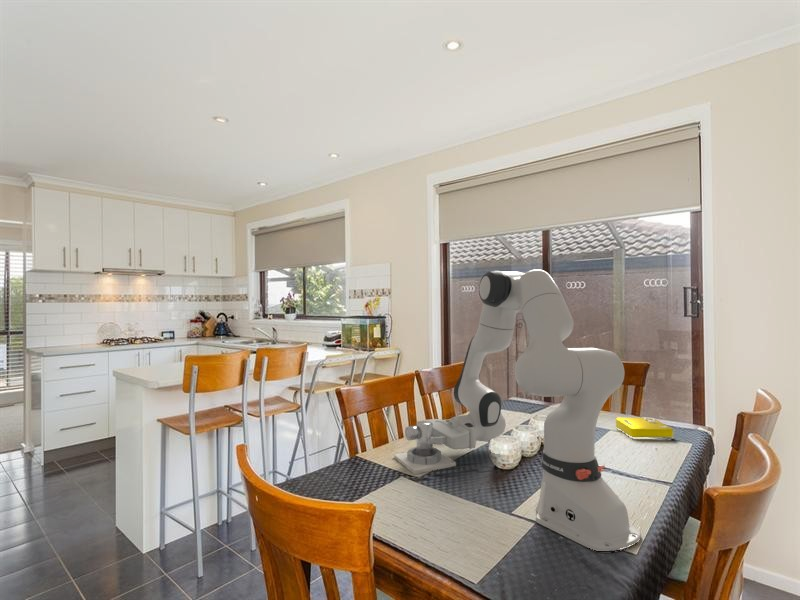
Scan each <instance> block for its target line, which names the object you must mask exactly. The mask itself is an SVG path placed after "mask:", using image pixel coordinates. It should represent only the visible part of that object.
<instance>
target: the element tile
mask: <svg viewBox="0 0 800 600" xmlns="http://www.w3.org/2000/svg"><path fill="white" fill-rule="evenodd" d="M616 427H617V428H619V429H621V430H622V431H624V432H625V433H627V434H628V435H630V436H632V437H672V436H673V437H674V428H672V427H671V426H669V425H667V424H666V423H663V422H661V421H660V420H657V419H656V418H653V417H616V418H615V428H616Z"/></svg>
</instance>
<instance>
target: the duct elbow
mask: <svg viewBox="0 0 800 600" xmlns="http://www.w3.org/2000/svg"><path fill="white" fill-rule="evenodd" d="M404 435H405V438H406V440H407V441H413V440H414V441H415V440H416V447H417V456H422V457H428V456H433V447H434V444H430V443H429V437H433V423H432V422H431V421H423V420H419V421H416V425H410V426H406V427H405V430H404Z"/></svg>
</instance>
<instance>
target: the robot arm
mask: <svg viewBox="0 0 800 600" xmlns="http://www.w3.org/2000/svg"><path fill="white" fill-rule="evenodd" d="M478 294H479V298H480V300H481V302H482V303H483V304H482V307H481V312H480V315H479V316H480V317H479V323H478V327H477V330H476V333H475V335H474V336H472V338H471V340H470V342H469V345H468V347H467V350H466V354H465V357H464V362H463V364H462V369H461V372H460V374H459V378H458V379H457V381H456V383H455V386H454V389H453V397H454V399H455V401H456V403H458V404H459V405H461V406H463V407H465V408H466V409H468V410H469V413H468V414H464V415H457V416H452V417H451V418H450V419H449V420H450V421H449V422H446V421H444V420H445V419H442V418H431V419H423V420H422V421H431V422H432V423H433V437H429V443H430V444H433V445H444V446H446V447H448V448H450V449H452V450H464V449H470V450H471V449H476V444H477V442H485V441H489V440H493V439H496V438H498V437H500V436H501V435H502V434H504V432H505V429H506V419H505V416H504V415H503V414H502V405H503V403H502V398H501V396H500V394H499V393H497V392H496V391H494V390H493V389H491V388H490V387H488V386H486V385H484V384H483V383H482V382H481V381H480V377H479V375H480V373H481V369H482V366H483V361H484V359H485V357H486V356H487V355H488V354H493V353H501V352H502V351H504V350H506V349H508V348H509V346H510V345H511V343H512V340H513V337H514V334H515V333H514V332H515V327H516V320H517V319H516V318H517V314H518V313H519V311H520V312H521V314H522V316H523V318H524V319H523V320H524V321H525V324H526V329H527V332H528V337H529V338H528V339H529V341H528V345H527V347H526V348H525V350H524V352H522V353H521V354H520V355H519V356H518V358H517V360H516V361H515V365H514V377H515V382H516V383H517V385H518V387H519V388H520V389H521V391H522V392H523V393H525V394H527V395H532V396H533V395H534V396H539V397H544V398H548V397H549V398H550V397H563V399H562V401H561V403H560V404H559V405H558V407H557V408H556V409H554V410H552V411H551V412H549V413H548V414H547V415H546V417H545V420H544V423H543V450H542V451H541V466H542V469H543V470H542V472H543V473H542V478H541V484H540V492H539V499H538V502H537V505H536V509H535V510H536V513H537V514H536V516H535V522H536V523H538V524H539V525H541V526H543V527H545V528H548V529H549V530H551V531H553V532H555V533H558V534H559V535H562V537H563V536H564V537H565V538H567V539H569V540H571V541H573V542H575V543H577V544H579V545H582V546H583V547H585V548H588V549H589V548H590V549H589V550H592V549H593V550H592V551H594V550H596V551H609V550H616V549H620V548H623V547H627V546H629V545H632V544H634V543H636V542H637V541H638V540H639V539H640V537H641V538H642V532H641V531H640V530H639V529H638V528H637V527H635V526H633V525H632V524H630V521H629V519H630V518H629V514H628V510H627V507H626V505H625V503H624V502H623V501H622V499H621V498H620V497H619V496H618V495H617V494H616V493H615V492H614V491H613V489H612V488H611V487H610V486H609V484H608V482H606V481H605V480H604V479H603V477H602V472H605V471H606V469H604V468H606V466H605V465H600V466H599V463H598V460H597V456H595V450H596V449H595V447H596V446H595V445H596V443H595V442H596V429H597V428H596V427H597V422H598V419H599V416H600V413H601V411H602V410H603V407H604V405H605V403H606V402H607V400H608V399H609V398H610V397H611V396H612V394H614V393H615V392H616V391H617V390H618V389H620V387H621V386H622V384H623V382H624V380H625V368H624V367H625V366H624V364H623V362H622V359H621V358H620V357H619V356H618V354H617V353H615V352H614V351H610V350H608V349H602V348H598V347H597V348H595V347H571V348H570V347H566V346H565V345H564V344H563V341H565V340H567V338H568V337H569V336H570V335H571V334H572V332H573V331H574V330H573V329H574V326H575V323H574V322H575V321H574V319H573V316H572V314H571V311H570V309H569V306H568V305H567V303H566V301H565V298H564V296H563V294H562V292H561V290H560V288H559V286H558V285H557V283H556V282H555V281H554V279H553V278H552V276H551V275H550V274H549V273H548V272H547V271H545V270H543V269H531V270H527V271H526V272H520V271H511V270H510V271H508V270H507V271H505V270H504V271H502V270H501V271H500V270H491V271H486V273H484V275H483V276H482V277H481V279H480V281H479V285H478ZM596 551H595V552H596Z"/></svg>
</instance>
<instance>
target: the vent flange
mask: <svg viewBox="0 0 800 600" xmlns="http://www.w3.org/2000/svg"><path fill="white" fill-rule="evenodd" d="M393 458H394V459H395V460H396V459H397V460H396V461H398V463H400V464H401V463H402V464H401V465H403V466H404V467H405V468H406V469H407V470H409V471H410V472H411V473H413V474H414V475H416V474H421V473H427V472H432V470H433V471H437V469H438V470H442V469H447V468H451V467H457V462H456V461H454V460H453V459H451V458H449V457H448V456H446V455H444V454H443V453H442V451H441V450H439V449H437V448H436V447H434V446H433V456H428V457H422V456H417V446H415V447H411V448H409V449H408V450H407V452H401V453H395V454H394V455H393Z"/></svg>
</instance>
